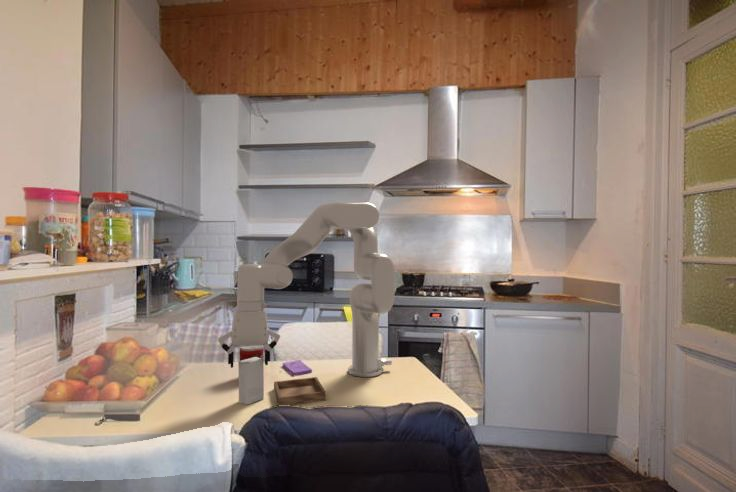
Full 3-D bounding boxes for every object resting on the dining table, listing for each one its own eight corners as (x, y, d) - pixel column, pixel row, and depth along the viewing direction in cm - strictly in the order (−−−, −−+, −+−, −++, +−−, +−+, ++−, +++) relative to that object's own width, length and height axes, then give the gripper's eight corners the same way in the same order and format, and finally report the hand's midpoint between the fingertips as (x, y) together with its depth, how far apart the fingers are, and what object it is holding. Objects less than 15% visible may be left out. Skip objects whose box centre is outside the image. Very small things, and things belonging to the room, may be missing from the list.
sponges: (300, 364, 153) (300, 359, 153) (312, 374, 142) (312, 368, 142) (282, 367, 150) (282, 362, 149) (293, 377, 139) (293, 372, 139)
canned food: (257, 382, 132) (257, 349, 132) (235, 381, 133) (235, 348, 133) (267, 375, 139) (267, 343, 139) (246, 373, 141) (246, 342, 141)
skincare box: (255, 395, 121) (255, 355, 121) (264, 399, 118) (264, 358, 118) (237, 401, 116) (237, 360, 116) (246, 406, 113) (246, 363, 113)
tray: (316, 384, 130) (316, 376, 130) (325, 400, 117) (325, 391, 117) (274, 389, 126) (274, 381, 126) (278, 406, 113) (278, 397, 113)
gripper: (279, 303, 123) (278, 359, 123) (219, 305, 117) (218, 363, 117) (282, 307, 116) (280, 366, 116) (218, 309, 110) (217, 371, 110)
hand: (249, 365), depth 117 cm, fingers open, 9 cm apart
